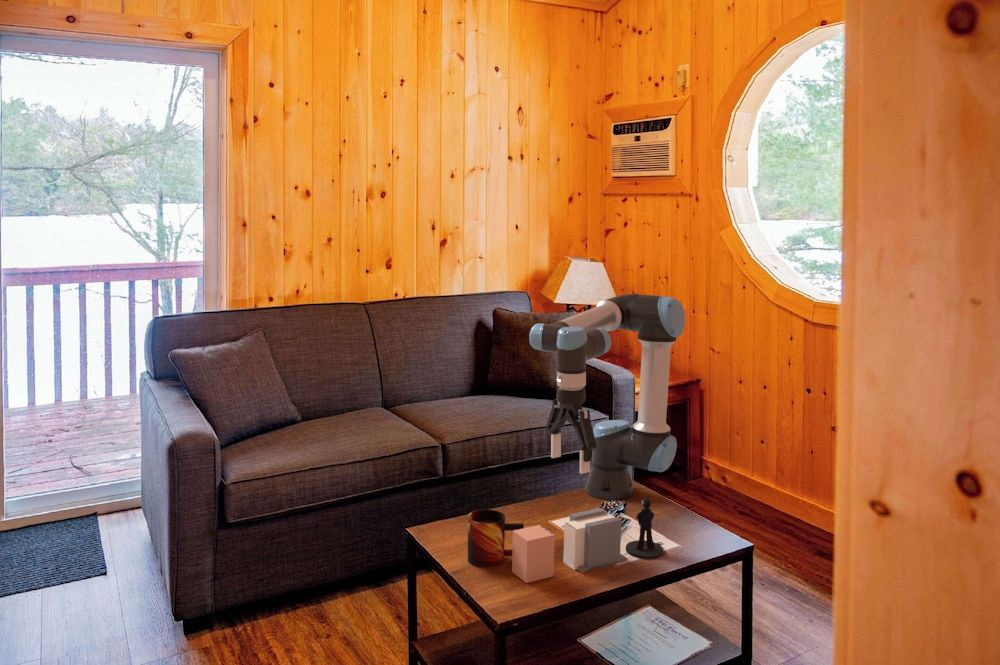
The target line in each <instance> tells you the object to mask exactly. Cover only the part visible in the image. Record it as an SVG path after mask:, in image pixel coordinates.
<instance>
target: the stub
mask: <svg viewBox="0 0 1000 665" xmlns="http://www.w3.org/2000/svg"><path fill="white" fill-rule="evenodd" d="M555 536H556V535H555V534H554V532H551V531H550V530H549V529H547V528H545V527H544V526H542V525H540V524H537V525H533V526H528V527H524V528H523V529H518V530H512V556H511V560H512V565H511V573H513V574H514V575H516V576H517V577H518V578H520V580H522V581H523V582H524V583H525V584H528V583H532V582H536V581H540V580H544V579H548V578H553V577H554V576H555V575H554V574H555V573H554V572H555V545H556V544H555V543H556V542H555V541H556V540H555V539H556V537H555Z"/></svg>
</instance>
